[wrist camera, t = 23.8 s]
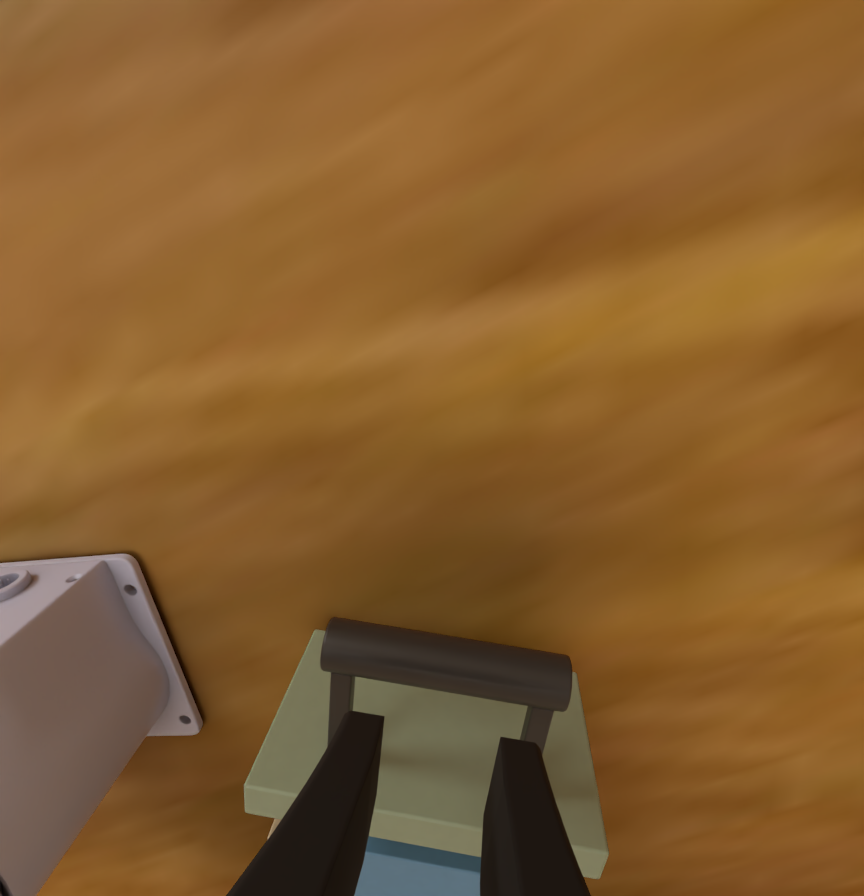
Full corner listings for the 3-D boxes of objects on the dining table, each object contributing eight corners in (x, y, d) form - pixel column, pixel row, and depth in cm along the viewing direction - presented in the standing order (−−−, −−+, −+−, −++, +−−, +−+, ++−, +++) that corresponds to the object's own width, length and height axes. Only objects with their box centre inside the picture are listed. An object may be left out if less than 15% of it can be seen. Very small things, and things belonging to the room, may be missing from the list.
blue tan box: (374, 725, 21) (343, 848, 17) (490, 745, 21) (488, 876, 17) (366, 802, 23) (337, 932, 19) (474, 822, 23) (469, 958, 18)
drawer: (317, 518, 19) (236, 650, 13) (607, 563, 19) (659, 722, 13) (308, 832, 26) (251, 1014, 20) (521, 872, 25) (528, 1073, 19)
